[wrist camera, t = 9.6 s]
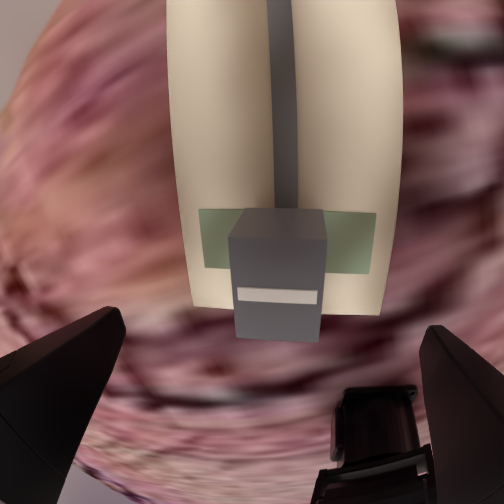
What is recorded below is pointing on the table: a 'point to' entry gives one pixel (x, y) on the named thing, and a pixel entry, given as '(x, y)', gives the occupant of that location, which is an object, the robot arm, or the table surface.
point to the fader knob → (278, 273)
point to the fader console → (288, 133)
